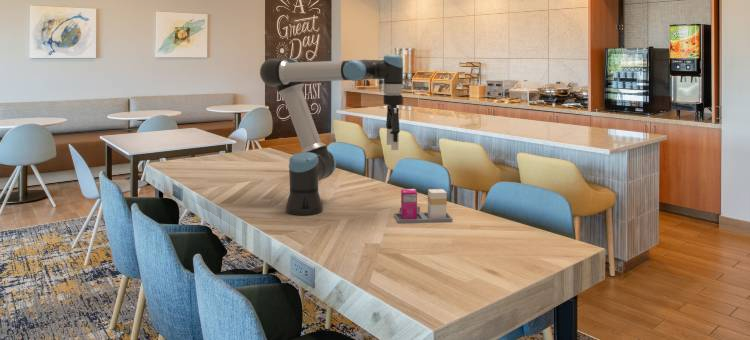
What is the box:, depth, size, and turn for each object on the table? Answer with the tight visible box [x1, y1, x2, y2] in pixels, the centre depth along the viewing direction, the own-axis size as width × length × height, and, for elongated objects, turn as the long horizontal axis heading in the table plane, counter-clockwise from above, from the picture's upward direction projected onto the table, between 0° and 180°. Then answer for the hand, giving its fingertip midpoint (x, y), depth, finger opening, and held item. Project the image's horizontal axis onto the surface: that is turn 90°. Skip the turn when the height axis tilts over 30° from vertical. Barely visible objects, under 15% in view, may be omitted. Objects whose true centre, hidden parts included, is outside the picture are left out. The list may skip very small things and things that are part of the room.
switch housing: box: [399, 206, 421, 213], centre depth 234 cm, size 6×6×3 cm
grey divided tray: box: [393, 211, 453, 224], centre depth 225 cm, size 21×10×2 cm, turn 97°
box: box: [427, 188, 448, 219], centre depth 224 cm, size 6×6×11 cm
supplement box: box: [400, 188, 418, 219], centre depth 223 cm, size 6×6×12 cm
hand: (392, 147), depth 234 cm, fingers open, 13 cm apart
